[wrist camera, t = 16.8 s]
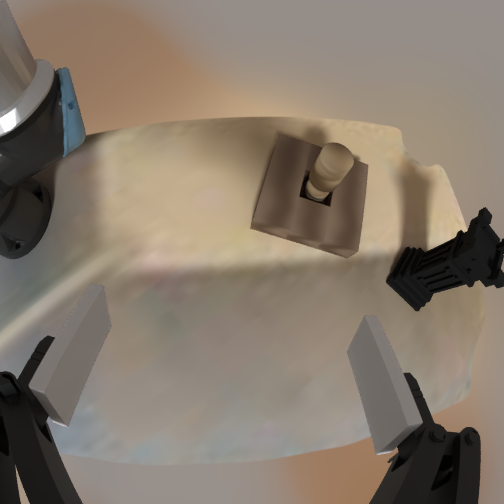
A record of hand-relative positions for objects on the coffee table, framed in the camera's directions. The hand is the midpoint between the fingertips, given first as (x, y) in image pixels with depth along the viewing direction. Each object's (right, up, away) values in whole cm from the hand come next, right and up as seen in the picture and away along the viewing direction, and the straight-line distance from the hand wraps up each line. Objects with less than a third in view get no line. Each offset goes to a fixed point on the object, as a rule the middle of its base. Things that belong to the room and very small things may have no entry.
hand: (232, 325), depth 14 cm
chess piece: (+28, -1, +32) cm, 43 cm away
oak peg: (+10, +12, +34) cm, 37 cm away
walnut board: (+11, +12, +34) cm, 37 cm away
